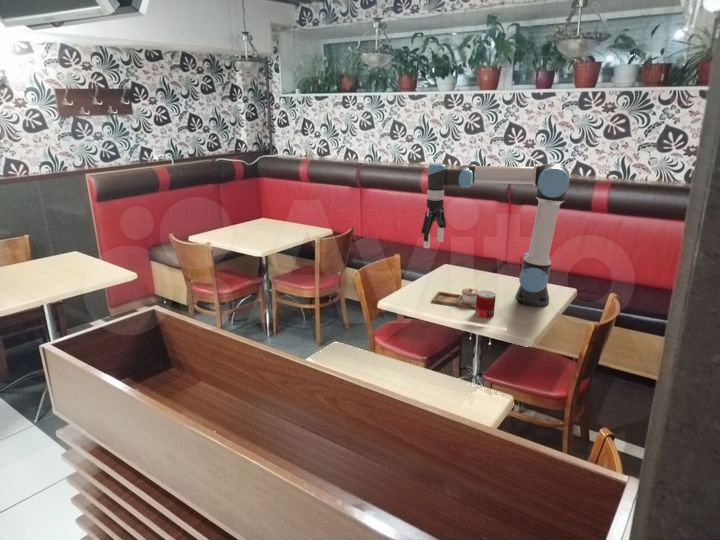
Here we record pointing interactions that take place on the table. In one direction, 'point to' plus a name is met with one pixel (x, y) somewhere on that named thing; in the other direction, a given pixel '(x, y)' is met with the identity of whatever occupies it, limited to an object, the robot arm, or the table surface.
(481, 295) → the canned food
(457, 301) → the wooden tray
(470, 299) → the sugar pot
